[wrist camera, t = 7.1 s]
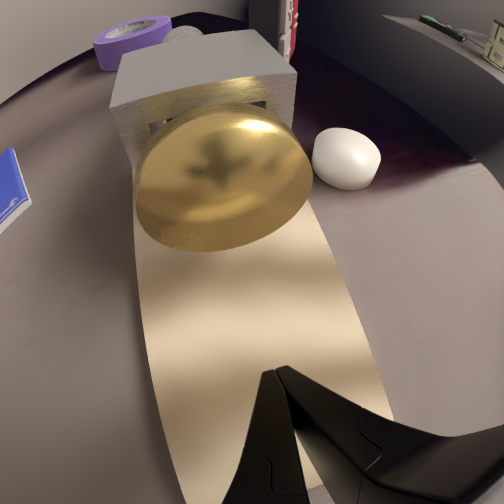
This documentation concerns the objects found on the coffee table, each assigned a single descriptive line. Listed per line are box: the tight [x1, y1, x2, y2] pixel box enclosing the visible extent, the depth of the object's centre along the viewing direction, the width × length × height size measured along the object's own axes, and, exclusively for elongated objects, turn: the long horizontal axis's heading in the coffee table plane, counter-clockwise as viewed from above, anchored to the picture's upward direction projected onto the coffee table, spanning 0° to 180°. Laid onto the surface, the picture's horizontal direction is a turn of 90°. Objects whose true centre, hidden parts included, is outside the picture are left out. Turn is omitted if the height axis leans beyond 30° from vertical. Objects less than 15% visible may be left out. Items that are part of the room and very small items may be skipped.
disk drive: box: [419, 15, 468, 42], centre depth 54 cm, size 10×3×15 cm
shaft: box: [135, 26, 313, 252], centre depth 15 cm, size 18×7×7 cm, turn 15°
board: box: [132, 167, 394, 504], centre depth 16 cm, size 23×11×1 cm, turn 15°
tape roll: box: [93, 16, 172, 72], centre depth 32 cm, size 12×12×5 cm
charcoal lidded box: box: [249, 0, 298, 63], centre depth 24 cm, size 11×4×15 cm, turn 166°
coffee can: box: [483, 19, 504, 72], centre depth 40 cm, size 10×10×14 cm
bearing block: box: [109, 29, 297, 172], centre depth 15 cm, size 6×7×9 cm
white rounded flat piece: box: [311, 128, 381, 190], centre depth 21 cm, size 5×5×2 cm
